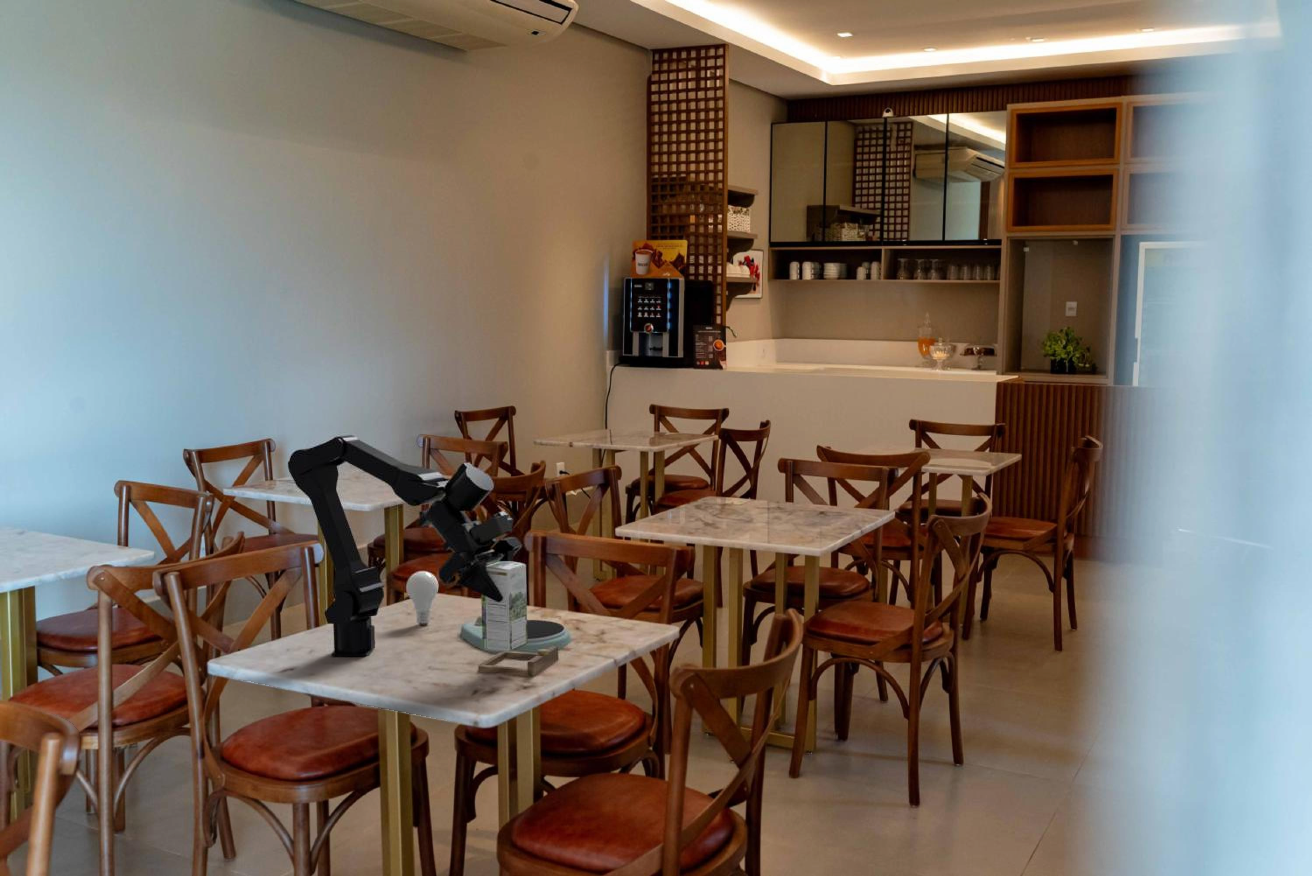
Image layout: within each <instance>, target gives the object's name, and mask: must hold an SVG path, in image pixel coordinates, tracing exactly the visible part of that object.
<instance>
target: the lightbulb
mask: <svg viewBox="0 0 1312 876" xmlns="http://www.w3.org/2000/svg"><path fill="white" fill-rule="evenodd" d="M438 591H439V581H438V580H437V577H436V576H435V575H434V574H433V573H431V572H430V571H426V570H419V571H416V572H415V573H412V574H411V575H410V577H409V578H408V579H407V581H406V593H407V594H408V597H409V598H410V600H411V601H412V603H413V606H414V609H415V611H416V623H417V624H419V625H421V626H426V625H427V624H429V623H430V622H431V614H430V613H431V609H432V606H433V605H432V603H433V601H434V599H435V598H436V595H438Z"/></svg>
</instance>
